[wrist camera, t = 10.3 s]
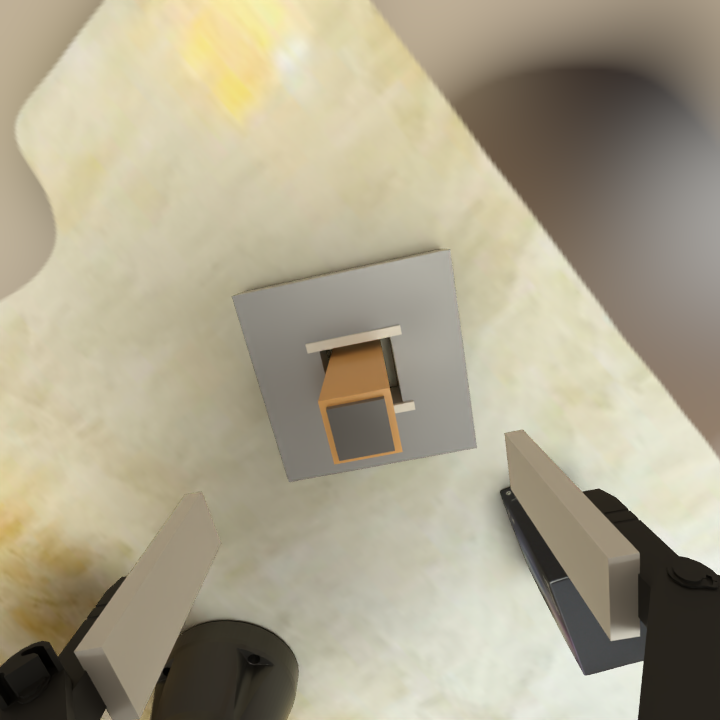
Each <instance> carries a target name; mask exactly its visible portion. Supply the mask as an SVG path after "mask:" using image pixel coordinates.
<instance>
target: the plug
mask: <svg viewBox="0 0 720 720" xmlns="http://www.w3.org/2000/svg"><path fill="white" fill-rule="evenodd" d="M318 404H319V408H320V412H321V415H322V419H323V423H324V427H325V431H326V434H327V438H328V442H329V446H330V450H331V454H332V457H333V461H334V465H335V464H340V463H346V462H351V461H356V460H362V459H367V458H373V457H378V456H384V455H389V454H395V453H400V452H403V451H402V446H401V441H400V436H399V431H398V426H397V421H396V416H395V411H394V406H393V401H392V396H391V391H390V386H389V381H388V376H387V371H386V367H385V362H384V357H383V352H382V347H381V342H380V339H377V340H372V341H367V342H362V343H357V344H352V345H347V346H342V347H337V348H333V349H332V353H331V356H330V360H329V364H328V367H327V371H326V374H325V378H324V382H323V385H322V389H321V392H320V396H319V400H318Z"/></svg>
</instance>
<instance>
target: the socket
mask: <svg viewBox="0 0 720 720" xmlns="http://www.w3.org/2000/svg"><path fill="white" fill-rule="evenodd" d="M232 299H233V302H234V305H235V308H236V312H237V315H238V318H239V321H240V325H241V328H242V331H243V334H244V338H245V341H246V344H247V347H248V351H249V354H250V357H251V360H252V364H253V367H254V370H255V374H256V377H257V380H258V383H259V387H260V390H261V393H262V396H263V400H264V403H265V406H266V409H267V413H268V416H269V419H270V422H271V426H272V429H273V432H274V435H275V439H276V442H277V445H278V448H279V452H280V455H281V458H282V462H283V465H284V468H285V471H286V475H287V478H288V481H289V482H292V481H298V480H303V479H309V478H314V477H320V476H325V475H331V474H336V473H342V472H347V471H353V470H358V469H363V468H369V467H374V466H380V465H385V464H391V463H396V462H402V461H407V460H413V459H418V458H424V457H429V456H435V455H440V454H446V453H451V452H457V451H462V450H468V449H473V448H477V445H476V438H475V430H474V423H473V415H472V408H471V400H470V393H469V386H468V378H467V371H466V363H465V356H464V348H463V341H462V334H461V326H460V319H459V311H458V304H457V296H456V289H455V282H454V274H453V267H452V259H451V252H450V249H438V250H434V251H429V252H424V253H420V254H415V255H410V256H406V257H401V258H397V259H392V260H387V261H383V262H378V263H373V264H369V265H364V266H360V267H355V268H350V269H346V270H341V271H336V272H332V273H327V274H323V275H318V276H313V277H309V278H304V279H299V280H295V281H290V282H286V283H281V284H276V285H272V286H267V287H262V288H258V289H253V290H249V291H245V292H242V293H240V294H237V295H234V296H232ZM387 337H389V339H390V344H391V349H392V354H393V360H394V365H395V370H396V375H397V380H398V387H393V388H390V391H391V396H392V401H393V406H394V411H395V416H396V421H397V426H398V431H399V436H400V441H401V446H402V451H403V452H400V453H395V454H389V455H384V456H378V457H373V458H367V459H362V460H356V461H351V462H346V463H340V464H335V465H334V461H333V457H332V454H331V450H330V446H329V442H328V438H327V434H326V431H325V427H324V423H323V419H322V415H321V412H320V408H319V404H318V400H319V396H320V392H321V389H322V385H323V382H324V378H325V374H326V371H327V367H328V364H329V360H328V356H327V352H326V350H328V349H332V348H337V347H342V346H347V345H352V344H357V343H362V342H367V341H372V340H377V339H382V338H387Z"/></svg>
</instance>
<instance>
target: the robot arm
mask: <svg viewBox="0 0 720 720" xmlns="http://www.w3.org/2000/svg"><path fill="white" fill-rule="evenodd" d="M505 442H506V451H507V460H508V468H509V477H510V486H511V490H512V492H513V493H514V495H515V496H516V498H517V499H518V501H519V502H520V504H521V505H522V507H523V508H524V510H525V511H526V513H527V515H528V516H529V518H530V519H531V521H532V522H533V524H534V525H535V527H536V528H537V530H538V531H539V533H540V534H541V536H542V537H543V539H544V540H545V542H546V543H547V545H548V546H549V548H550V549H551V551H552V553H553V554H554V556H555V557H556V559H557V560H558V562H559V563H560V565H561V566H562V568H563V569H564V571H565V572H566V574H567V575H568V577H569V578H570V580H571V581H572V583H573V584H574V586H575V587H576V589H577V591H578V592H579V594H580V595H581V597H582V598H583V600H584V601H585V603H586V604H587V606H588V607H589V609H590V610H591V612H592V613H593V615H594V616H595V618H596V619H597V621H598V622H599V624H600V625H601V627H602V628H603V630H604V632H605V633H606V635H607V636H608V638H609V639H610V641H615V640H621V639H627V638H633V637H639V636H640V620H641V621H642V623H643V624H644V625H645V626H646V628H647V633H646V643H645V654H644V664H643V674H642V684H641V694H640V704H639V715H638V720H720V575H717V574H716V573H715V572H714V571H713V570H711V569H710V568H708V567H707V566H705V565H703V564H702V563H700V562H697V561H695V560H692V559H689V558H686V557H680V556H678V555H677V554H676V553H675V552H674V551H673V550H671V549H670V548H669V547H668V546H667V545H666V544H665V543H664V542H663V541H662V540H661V539H660V538H659V537H658V536H657V535H655V534H654V533H653V532H652V531H651V530H650V529H649V528H648V527H647V526H646V525H645V524H644V523H643V522H642V521H641V520H638V518H637V517H636V516H635V515H634V514H633V513H632V512H631V511H629V510H628V508H627V507H626V506H625V505H623V504H622V503H621V502H620V501H619V500H618V499H617V498H616V497H614V496H612V495H610V494H609V493H607V492H605V491H603V490H601V489H594V490H589V491H583V492H582V491H581V490H580V489H579V488H578V487H577V486H576V485H575V484H574V483H573V482H572V481H571V480H570V479H569V478H568V477H567V476H566V475H565V473H564V472H563V471H562V470H561V469H560V468H559V467H558V466H557V465H556V464H555V463H554V462H553V461H552V460H551V459H550V458H549V457H548V456H547V455H546V453H545V452H544V451H543V450H542V449H541V448H540V447H539V446H538V445H537V444H536V443H535V442H534V441H533V440H532V439H531V438H530V437H529V436H528V434H527V433H526V432H525V431H524V430H518V431H513V432H508V433H505ZM220 545H221V541H220V538H219V535H218V533H217V530H216V527H215V525H214V522H213V519H212V517H211V514H210V512H209V509H208V506H207V504H206V501H205V498H204V496H203V493H202V491H201V492H196V493H191V494H186V495H184V497H183V498H182V499H181V501H180V502H179V504H178V505H177V507H176V508H175V509H174V511H173V512H172V514H171V515H170V516H169V518H168V519H167V521H166V522H165V524H164V525H163V526H162V528H161V529H160V531H159V532H158V533H157V535H156V536H155V538H154V539H153V540H152V542H151V543H150V545H149V546H148V548H147V549H146V550H145V552H144V553H143V555H142V556H141V557H140V559H139V560H138V562H137V563H136V565H135V566H134V567H133V569H132V570H131V572H130V573H129V574H128V576H126V577H121V578H120V579H119V580H118V581H117V582H116V583H115V584H114V585H113V586H112V587H110V588H109V589H108V590H107V591H106V593H105V594H104V595H103V597H102V598H101V599H100V601H99V602H98V603H97V605H96V608H94V609H93V610H92V612H91V613H90V614H89V616H88V617H87V620H85V621H84V622H83V624H82V625H81V627H80V628H79V629H78V631H77V632H76V633H75V635H74V636H73V637H72V639H71V640H70V641H69V643H68V644H67V646H66V647H65V648H64V650H63V651H62V652H61V654H60V655H59V656H57V655H56V653H55V651H54V649H53V648H52V646H51V644H50V643H49V642H46V641H41V642H37V643H34V644H31V645H30V646H28V647H26V648H24V649H22V650H20V651H19V652H18V653H16V654H15V655H13V656H12V657H11V658H9V659H8V660H7V661H6V662H5V663H4V664H3V665H2V666H1V667H0V720H100V718H101V717H102V715H103V713H104V711H105V709H107V711H108V713H109V715H110V717H111V718H112V720H135V719H140V718H141V715H142V713H143V711H144V709H145V707H146V705H147V702H148V700H149V698H150V696H151V694H152V692H153V690H154V687H155V685H156V687H155V693H154V698H153V704H152V710H151V715H150V720H287V719H288V716H289V714H290V712H291V709H292V707H293V704H294V700H295V696H296V689H297V682H298V665H297V662H296V659H295V657H294V655H293V653H292V652H291V650H290V649H289V648H288V646H287V645H286V644H285V643H284V642H283V641H281V640H280V639H279V638H278V637H276V636H275V635H273V634H272V633H270V632H268V631H266V630H264V629H262V628H260V627H257V626H254V625H251V624H247V623H242V622H234V621H216V622H210V623H205V624H201V625H198V626H196V627H193V628H191V629H189V630H187V631H186V632H184V633H183V634H181V635H180V636H179V633H180V631H181V629H182V627H183V625H184V623H185V620H186V618H187V616H188V614H189V612H190V610H191V607H192V605H193V603H194V601H195V599H196V597H197V595H198V592H199V590H200V588H201V586H202V584H203V582H204V579H205V577H206V575H207V573H208V571H209V569H210V566H211V564H212V562H213V560H214V558H215V556H216V554H217V551H218V549H219V547H220ZM178 636H179V637H178Z"/></svg>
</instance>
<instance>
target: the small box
mask: <svg viewBox="0 0 720 720" xmlns="http://www.w3.org/2000/svg"><path fill="white" fill-rule="evenodd" d="M501 496H502V499H503V502H504V505H505V507H506V510H507V513H508V516H509V518H510V521H511V523H512V526H513V529H514V531H515V534H516V537H517V539H518V542H519V545H520V547H521V550H522V552H523V555H524V557H525V560H526V562H527V565H528V567H529V569H530V572H531V574H532V576H533V578H534V580H535V582H536V584H537V586H538V588H539V590H540V592H541V594H542V596H543V598H544V600H545V602H546V604H547V606H548V608H549V610H550V612H551V614H552V616H553V618H554V620H555V622H556V623H557V625H558V627H559V629H560V631H561V633H562V635H563V637H564V639H565V641H566V642H567V644H568V646H569V648H570V650H571V652H572V654H573V655H574V657H575V659H576V661H577V663H578V664H579V666H580V668H581V670H582V672H583V674H584V675H590V674H595V673H599V672H602V671H606V670H610V669H613V668H617V667H621V666H624V665H628V664H632V663H636V662H640V661H644V654H645V643H646V633H647V628H646V626H645V625H644V624H643V623H642V621H641V620H640V636H639V637H633V638H627V639H621V640H615V641H610V639H609V638H608V636H607V635H606V633H605V632H604V630H603V628H602V627H601V625H600V624H599V622H598V621H597V619H596V618H595V616H594V615H593V613H592V612H591V610H590V609H589V607H588V606H587V604H586V603H585V601H584V600H583V598H582V597H581V595H580V594H579V592H578V591H577V589H576V587H575V586H574V584H573V583H572V581H571V580H570V578H569V577H568V575H567V574H566V572H565V571H564V569H563V568H562V566H561V565H560V563H559V562H558V560H557V559H556V557H555V556H554V554H553V553H552V551H551V549H550V548H549V546H548V545H547V543H546V542H545V540H544V539H543V537H542V536H541V534H540V533H539V531H538V530H537V528H536V527H535V525H534V524H533V522H532V521H531V519H530V518H529V516H528V515H527V513H526V511H525V510H524V508H523V507H522V505H521V504H520V502H519V501H518V499H517V498H516V496H515V495H514V493H513V492H512V490H511V487H509V488H507V489H505V490H502V491H501Z"/></svg>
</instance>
